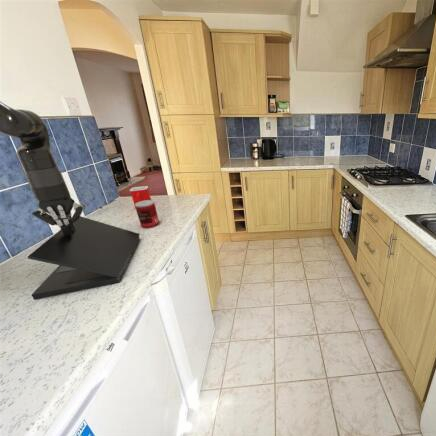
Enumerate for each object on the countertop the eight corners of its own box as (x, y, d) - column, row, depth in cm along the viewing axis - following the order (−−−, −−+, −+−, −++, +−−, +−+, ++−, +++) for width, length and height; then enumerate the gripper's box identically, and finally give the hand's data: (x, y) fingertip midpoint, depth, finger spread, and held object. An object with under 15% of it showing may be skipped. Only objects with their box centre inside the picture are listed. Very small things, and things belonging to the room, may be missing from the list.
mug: (137, 205, 140) (132, 187, 136) (153, 203, 143) (148, 185, 138) (133, 212, 130) (127, 193, 126) (150, 210, 132) (145, 191, 128)
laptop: (34, 299, 69) (30, 294, 68) (79, 249, 95) (78, 244, 94) (119, 282, 75) (117, 277, 74) (140, 239, 101) (138, 235, 100)
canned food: (156, 220, 119) (151, 198, 115) (161, 224, 114) (156, 202, 109) (139, 224, 115) (132, 202, 110) (143, 230, 109) (136, 207, 105)
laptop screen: (27, 258, 64) (28, 256, 64) (77, 217, 90) (77, 215, 90) (117, 278, 74) (118, 275, 74) (139, 235, 100) (139, 233, 100)
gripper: (80, 177, 77) (98, 226, 84) (27, 182, 73) (51, 233, 80) (68, 183, 70) (90, 236, 77) (10, 189, 67) (38, 244, 74)
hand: (70, 234), depth 79 cm, fingers closed
